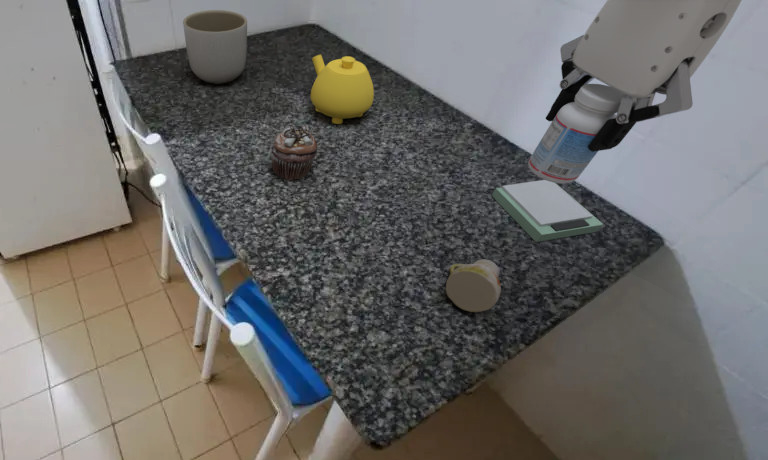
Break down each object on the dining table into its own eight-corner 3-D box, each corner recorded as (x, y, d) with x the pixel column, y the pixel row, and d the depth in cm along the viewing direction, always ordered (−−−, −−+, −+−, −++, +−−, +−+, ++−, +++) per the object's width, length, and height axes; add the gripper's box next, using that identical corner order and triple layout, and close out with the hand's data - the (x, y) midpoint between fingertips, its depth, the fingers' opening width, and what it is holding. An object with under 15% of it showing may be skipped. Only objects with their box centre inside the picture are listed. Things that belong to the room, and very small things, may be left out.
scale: (596, 231, 72) (605, 222, 70) (535, 242, 70) (543, 232, 68) (546, 187, 81) (553, 177, 79) (491, 195, 79) (497, 185, 77)
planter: (182, 87, 109) (175, 29, 98) (197, 62, 121) (191, 8, 110) (242, 92, 108) (241, 34, 97) (251, 66, 120) (251, 11, 109)
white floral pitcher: (504, 282, 64) (534, 273, 55) (461, 322, 64) (484, 319, 54) (468, 250, 66) (490, 235, 57) (426, 288, 66) (442, 280, 57)
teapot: (287, 99, 106) (291, 47, 96) (332, 85, 111) (340, 35, 101) (334, 134, 94) (344, 78, 84) (382, 117, 100) (396, 63, 90)
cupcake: (303, 152, 88) (308, 112, 81) (320, 178, 82) (327, 137, 75) (263, 159, 87) (264, 118, 79) (277, 186, 80) (279, 145, 73)
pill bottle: (585, 176, 52) (647, 97, 44) (559, 191, 50) (619, 110, 42) (542, 153, 56) (592, 76, 47) (516, 166, 53) (564, 87, 45)
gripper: (843, -14, 30) (665, 171, 43) (644, -60, 42) (551, 97, 55) (770, -9, 29) (610, 180, 42) (586, -57, 41) (505, 103, 54)
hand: (577, 132), depth 48 cm, fingers closed on pill bottle, 6 cm apart
